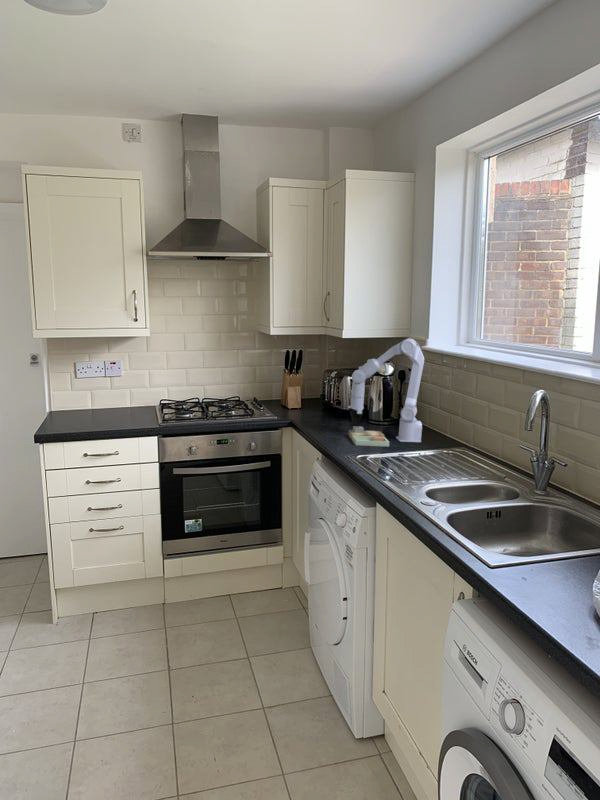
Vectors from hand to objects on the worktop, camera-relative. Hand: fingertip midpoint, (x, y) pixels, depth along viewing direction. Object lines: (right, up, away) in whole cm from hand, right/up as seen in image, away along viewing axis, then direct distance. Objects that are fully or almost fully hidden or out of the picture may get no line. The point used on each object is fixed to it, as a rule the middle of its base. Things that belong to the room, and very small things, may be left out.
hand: (355, 426), depth 271 cm
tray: (+5, -6, -16) cm, 18 cm away
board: (+4, -5, -7) cm, 9 cm away
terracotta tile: (+8, -6, -15) cm, 18 cm away
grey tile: (+1, -2, -7) cm, 7 cm away
